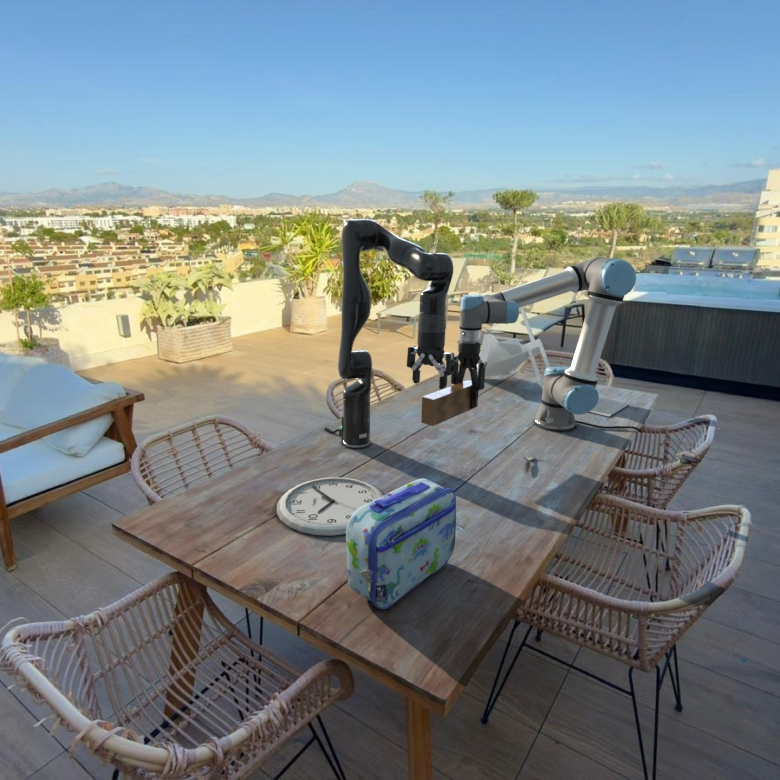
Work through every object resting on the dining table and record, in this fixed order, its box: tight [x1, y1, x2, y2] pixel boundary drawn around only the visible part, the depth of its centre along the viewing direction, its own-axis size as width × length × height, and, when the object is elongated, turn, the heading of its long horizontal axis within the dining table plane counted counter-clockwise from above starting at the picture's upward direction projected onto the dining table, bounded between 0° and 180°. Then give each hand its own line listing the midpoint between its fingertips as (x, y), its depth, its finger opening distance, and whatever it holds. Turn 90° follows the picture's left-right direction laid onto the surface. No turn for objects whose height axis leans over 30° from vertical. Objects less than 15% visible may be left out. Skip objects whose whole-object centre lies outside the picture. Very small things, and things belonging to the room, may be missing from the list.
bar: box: [420, 379, 479, 427], centre depth 177 cm, size 26×5×9 cm, turn 138°
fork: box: [525, 448, 536, 473], centre depth 169 cm, size 3×16×2 cm, turn 160°
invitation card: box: [588, 397, 629, 418], centre depth 226 cm, size 21×1×15 cm
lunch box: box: [345, 477, 457, 610], centre depth 110 cm, size 26×11×21 cm, turn 134°
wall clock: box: [276, 476, 385, 537], centre depth 142 cm, size 30×2×30 cm
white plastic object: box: [472, 307, 551, 390], centre depth 257 cm, size 37×45×31 cm
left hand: (429, 385), depth 147 cm, fingers open, 8 cm apart
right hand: (466, 405), depth 184 cm, fingers closed on bar, 5 cm apart
